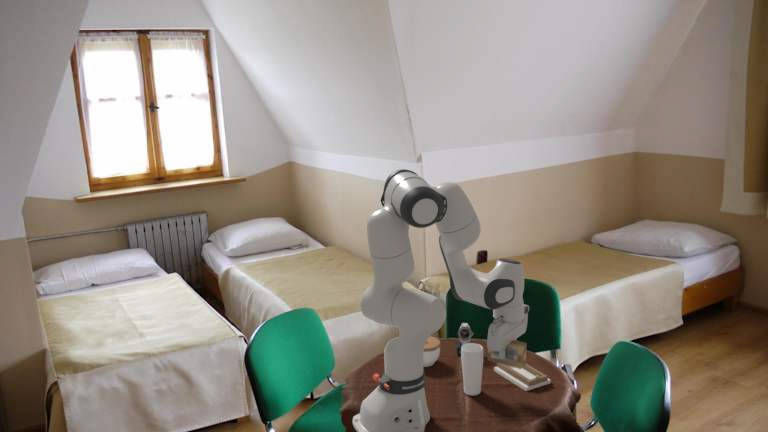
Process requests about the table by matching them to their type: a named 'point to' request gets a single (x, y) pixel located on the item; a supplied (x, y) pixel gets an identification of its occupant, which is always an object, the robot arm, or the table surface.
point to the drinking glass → (472, 368)
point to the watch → (463, 336)
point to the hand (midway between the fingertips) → (506, 355)
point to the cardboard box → (511, 355)
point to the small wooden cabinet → (523, 376)
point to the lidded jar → (431, 351)
